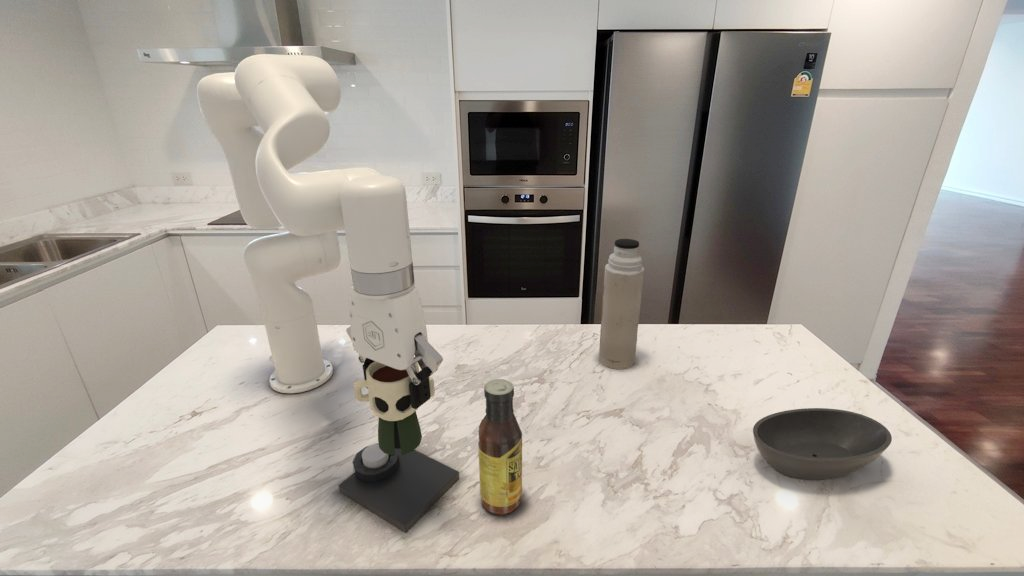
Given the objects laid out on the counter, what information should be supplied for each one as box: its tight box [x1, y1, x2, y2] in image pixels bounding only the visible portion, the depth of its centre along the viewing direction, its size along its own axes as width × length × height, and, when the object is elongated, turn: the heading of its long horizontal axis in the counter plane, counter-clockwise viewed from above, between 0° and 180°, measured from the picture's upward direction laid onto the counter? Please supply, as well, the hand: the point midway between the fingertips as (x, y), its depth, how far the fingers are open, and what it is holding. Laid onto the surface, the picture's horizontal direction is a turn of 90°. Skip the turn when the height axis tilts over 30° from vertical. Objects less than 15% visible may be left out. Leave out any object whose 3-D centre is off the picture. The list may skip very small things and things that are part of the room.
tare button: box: [362, 443, 389, 469], centre depth 76 cm, size 4×4×2 cm
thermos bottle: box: [598, 238, 645, 370], centre depth 103 cm, size 8×8×28 cm
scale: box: [338, 442, 460, 533], centre depth 75 cm, size 16×12×3 cm
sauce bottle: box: [478, 378, 523, 516], centre depth 68 cm, size 6×6×20 cm
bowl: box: [752, 407, 893, 482], centre depth 77 cm, size 12×22×6 cm, turn 99°
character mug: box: [352, 361, 436, 456], centre depth 68 cm, size 11×7×13 cm, turn 97°
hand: (397, 393), depth 67 cm, fingers closed on character mug, 8 cm apart
